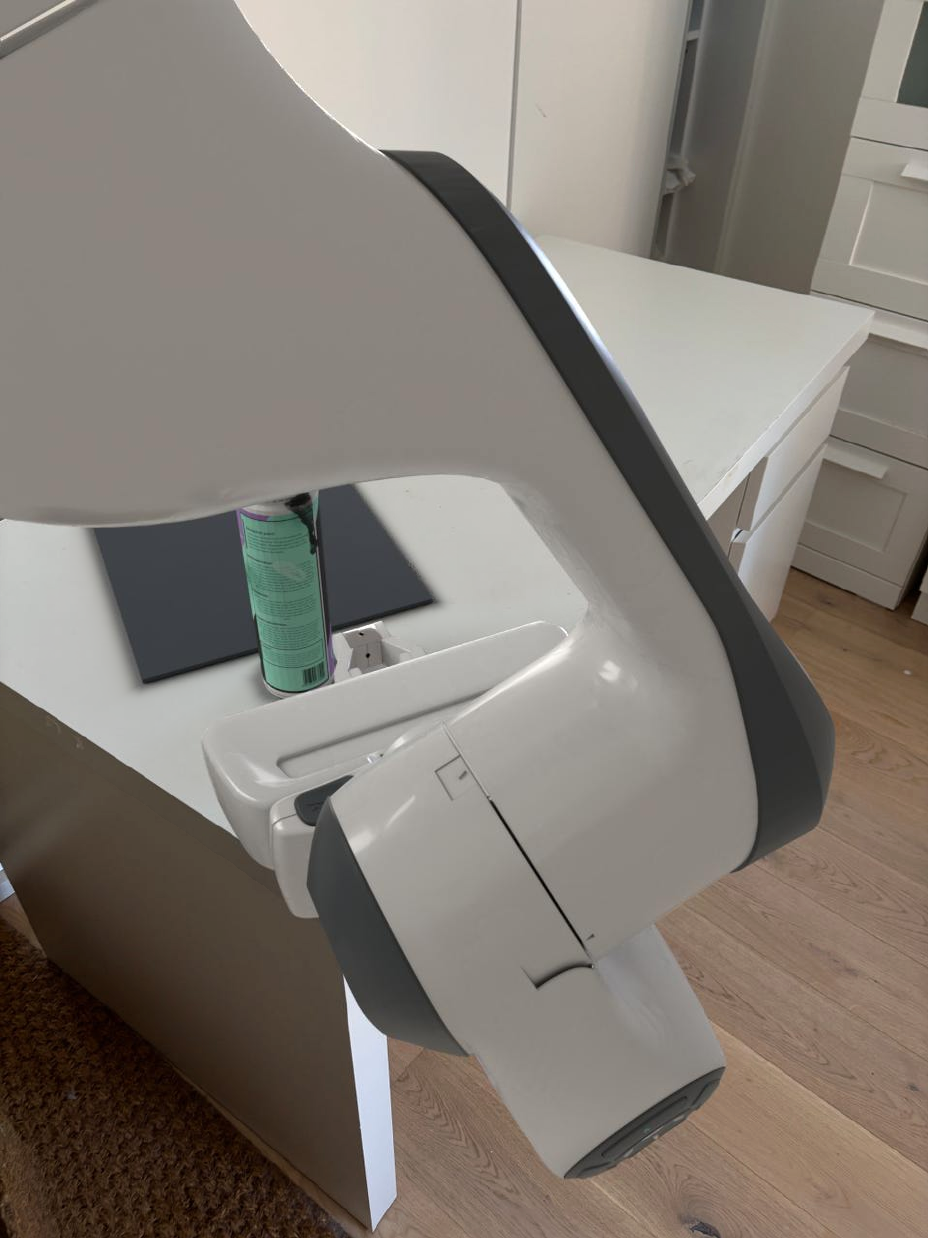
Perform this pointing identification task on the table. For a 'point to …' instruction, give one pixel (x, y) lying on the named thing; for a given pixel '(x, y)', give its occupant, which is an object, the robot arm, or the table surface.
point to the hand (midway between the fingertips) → (356, 636)
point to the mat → (240, 583)
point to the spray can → (288, 592)
